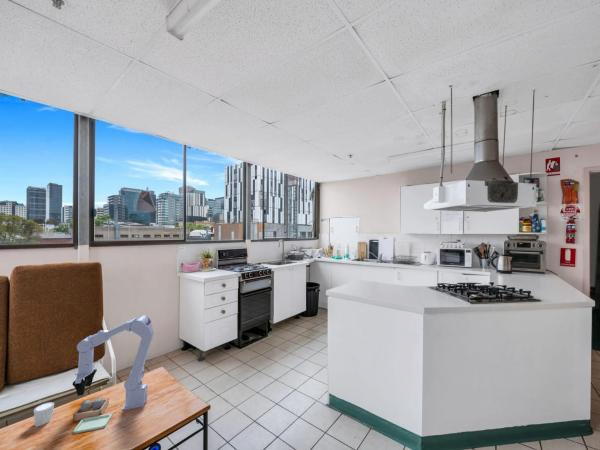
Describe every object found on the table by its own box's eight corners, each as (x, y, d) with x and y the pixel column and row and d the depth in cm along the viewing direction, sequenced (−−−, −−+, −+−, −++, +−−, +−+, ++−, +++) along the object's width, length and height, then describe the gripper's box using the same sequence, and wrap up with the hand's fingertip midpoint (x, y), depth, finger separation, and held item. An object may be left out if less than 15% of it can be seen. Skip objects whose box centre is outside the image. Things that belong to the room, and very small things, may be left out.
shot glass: (40, 428, 114) (41, 412, 114) (28, 426, 115) (29, 410, 115) (57, 418, 120) (58, 402, 121) (46, 415, 122) (47, 400, 122)
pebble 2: (104, 407, 127) (105, 397, 127) (99, 413, 123) (99, 402, 123) (96, 408, 126) (96, 398, 127) (90, 413, 123) (90, 403, 123)
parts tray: (112, 415, 122) (112, 413, 122) (104, 428, 114) (105, 425, 114) (82, 421, 118) (82, 418, 118) (72, 434, 110) (72, 431, 110)
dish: (108, 405, 130) (108, 398, 130) (100, 416, 121) (101, 410, 121) (82, 409, 126) (82, 402, 127) (72, 421, 118) (73, 414, 118)
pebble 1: (92, 409, 125) (93, 399, 126) (87, 415, 122) (88, 404, 122) (83, 411, 125) (83, 400, 125) (78, 416, 121) (78, 405, 121)
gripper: (83, 357, 132) (82, 383, 131) (67, 371, 118) (66, 401, 118) (99, 355, 134) (98, 381, 134) (86, 368, 120) (84, 398, 120)
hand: (84, 390), depth 126 cm, fingers open, 7 cm apart
